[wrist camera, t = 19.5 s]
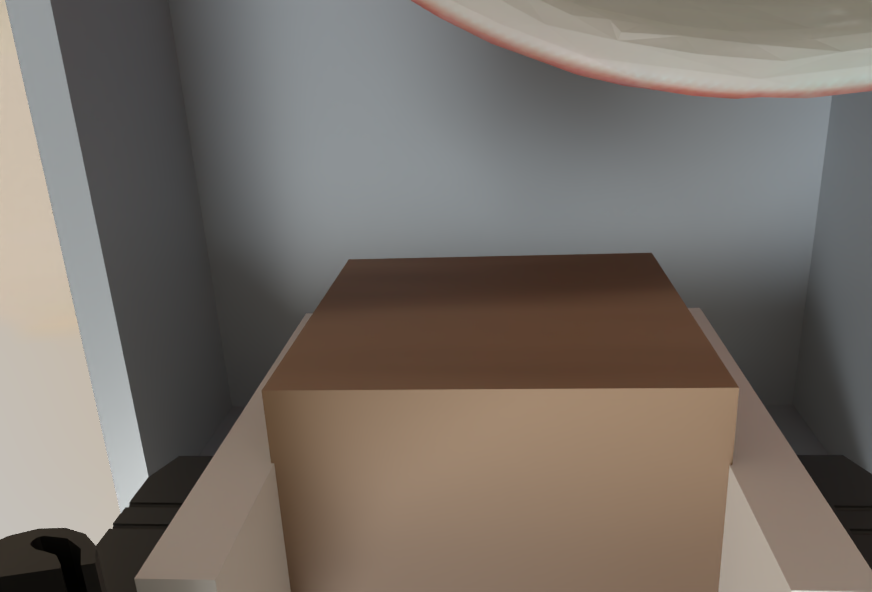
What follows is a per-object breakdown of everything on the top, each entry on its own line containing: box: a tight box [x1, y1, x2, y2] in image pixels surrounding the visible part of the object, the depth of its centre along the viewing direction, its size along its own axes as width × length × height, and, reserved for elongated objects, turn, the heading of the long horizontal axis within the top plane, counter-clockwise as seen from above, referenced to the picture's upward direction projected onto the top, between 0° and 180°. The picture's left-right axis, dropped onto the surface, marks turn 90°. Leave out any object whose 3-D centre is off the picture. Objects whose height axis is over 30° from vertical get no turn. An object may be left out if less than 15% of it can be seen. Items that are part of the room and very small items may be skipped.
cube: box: [262, 253, 739, 592], centre depth 11 cm, size 5×5×5 cm
